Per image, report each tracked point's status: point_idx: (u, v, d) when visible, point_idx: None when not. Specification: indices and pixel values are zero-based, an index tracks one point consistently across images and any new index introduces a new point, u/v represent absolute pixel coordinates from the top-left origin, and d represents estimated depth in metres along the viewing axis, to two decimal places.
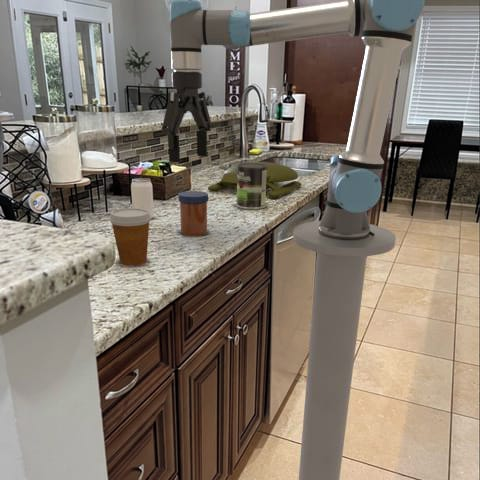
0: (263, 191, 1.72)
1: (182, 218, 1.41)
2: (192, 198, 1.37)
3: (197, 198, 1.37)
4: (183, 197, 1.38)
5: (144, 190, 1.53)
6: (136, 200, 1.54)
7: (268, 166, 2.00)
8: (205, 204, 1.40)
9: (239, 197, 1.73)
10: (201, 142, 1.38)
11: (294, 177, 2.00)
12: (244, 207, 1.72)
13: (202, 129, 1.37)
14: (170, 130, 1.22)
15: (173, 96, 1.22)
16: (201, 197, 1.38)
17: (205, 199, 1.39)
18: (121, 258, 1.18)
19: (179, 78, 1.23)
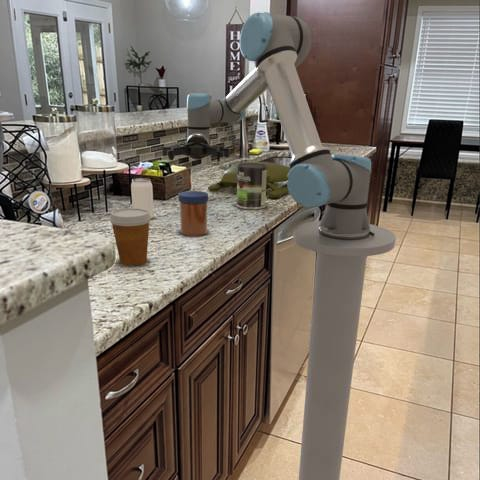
0: (263, 191, 1.72)
1: (182, 218, 1.41)
2: (192, 198, 1.37)
3: (197, 198, 1.37)
4: (183, 197, 1.38)
5: (144, 190, 1.53)
6: (136, 200, 1.54)
7: (268, 166, 2.00)
8: (205, 204, 1.40)
9: (239, 197, 1.73)
10: None
11: None
12: (244, 207, 1.72)
13: None
14: (163, 147, 1.51)
15: None
16: (201, 197, 1.38)
17: (205, 199, 1.39)
18: (121, 258, 1.18)
19: None
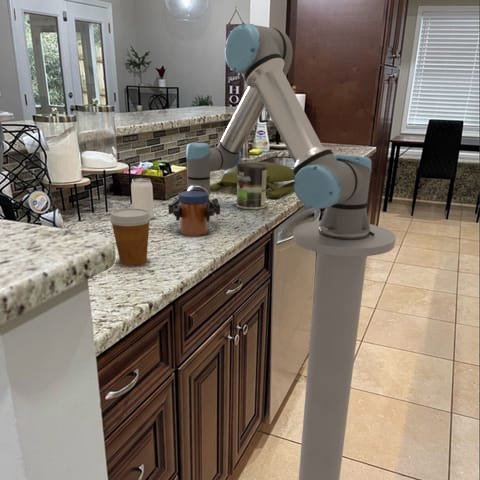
0: (263, 191, 1.72)
1: (182, 218, 1.41)
2: (192, 198, 1.37)
3: (197, 198, 1.37)
4: (183, 197, 1.38)
5: (144, 190, 1.53)
6: (136, 200, 1.54)
7: (268, 166, 2.00)
8: (205, 204, 1.40)
9: (239, 197, 1.73)
10: None
11: (294, 177, 2.00)
12: (244, 207, 1.72)
13: None
14: (169, 204, 1.45)
15: None
16: (201, 197, 1.38)
17: (205, 199, 1.39)
18: (121, 258, 1.18)
19: None
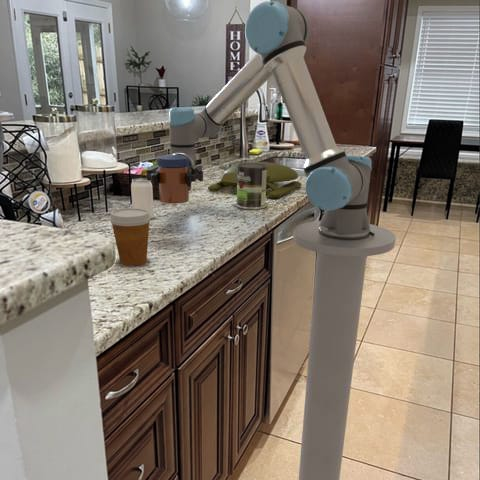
0: (263, 191, 1.72)
1: (161, 184, 1.29)
2: (171, 161, 1.25)
3: (176, 161, 1.25)
4: (161, 160, 1.25)
5: (144, 190, 1.53)
6: (136, 200, 1.54)
7: (268, 166, 2.00)
8: (186, 168, 1.28)
9: (239, 197, 1.73)
10: None
11: (294, 177, 2.00)
12: (244, 207, 1.72)
13: None
14: (147, 170, 1.32)
15: None
16: (181, 160, 1.25)
17: (186, 163, 1.27)
18: (121, 258, 1.18)
19: None
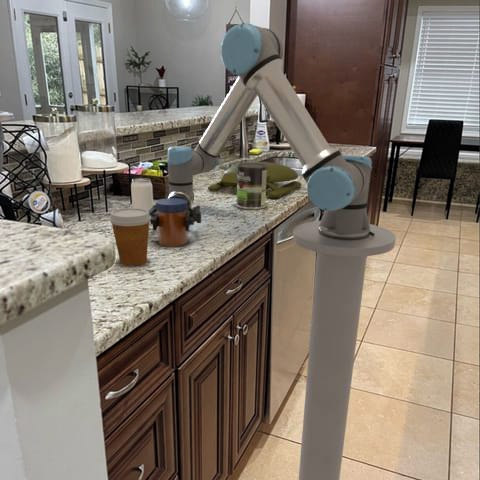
0: (263, 191, 1.72)
1: (160, 227, 1.32)
2: (170, 206, 1.28)
3: (175, 206, 1.28)
4: (160, 205, 1.28)
5: (144, 190, 1.53)
6: (136, 200, 1.54)
7: (268, 166, 2.00)
8: (184, 212, 1.31)
9: (239, 197, 1.73)
10: None
11: (294, 177, 2.00)
12: (244, 207, 1.72)
13: None
14: None
15: None
16: (179, 205, 1.28)
17: (184, 207, 1.30)
18: (121, 258, 1.18)
19: None
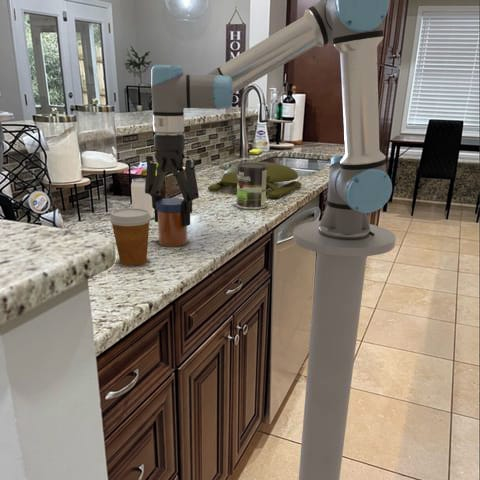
0: (263, 191, 1.72)
1: (160, 227, 1.32)
2: (170, 206, 1.28)
3: (175, 206, 1.28)
4: (160, 205, 1.28)
5: (144, 190, 1.53)
6: (136, 200, 1.54)
7: (268, 166, 2.00)
8: None
9: (239, 197, 1.73)
10: None
11: (294, 177, 2.00)
12: (244, 207, 1.72)
13: (156, 194, 1.33)
14: None
15: (193, 163, 1.25)
16: (179, 205, 1.28)
17: None
18: (121, 258, 1.18)
19: (182, 141, 1.24)
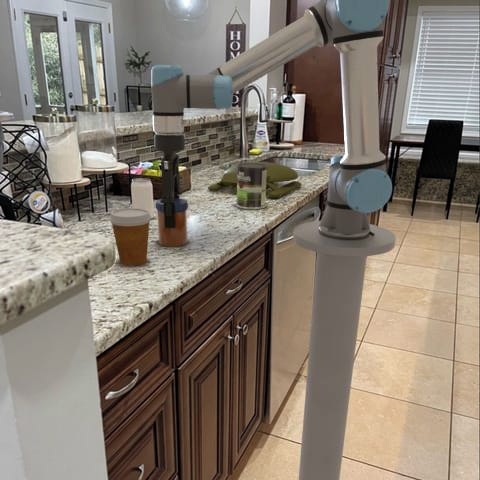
0: (263, 191, 1.72)
1: (160, 227, 1.32)
2: None
3: None
4: (187, 203, 1.31)
5: (144, 190, 1.53)
6: (136, 200, 1.54)
7: (268, 166, 2.00)
8: (184, 212, 1.31)
9: (239, 197, 1.73)
10: None
11: (294, 177, 2.00)
12: (244, 207, 1.72)
13: None
14: None
15: None
16: None
17: None
18: (121, 258, 1.18)
19: None
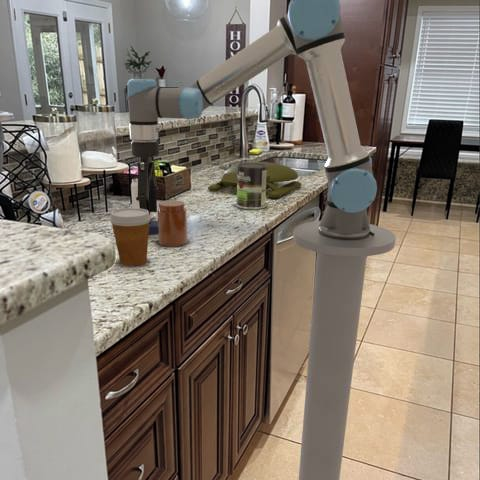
0: (263, 191, 1.72)
1: (160, 227, 1.32)
2: None
3: None
4: None
5: None
6: None
7: (268, 166, 2.00)
8: (184, 212, 1.31)
9: (239, 197, 1.73)
10: None
11: (294, 177, 2.00)
12: (244, 207, 1.72)
13: None
14: None
15: None
16: None
17: None
18: (121, 258, 1.18)
19: None
